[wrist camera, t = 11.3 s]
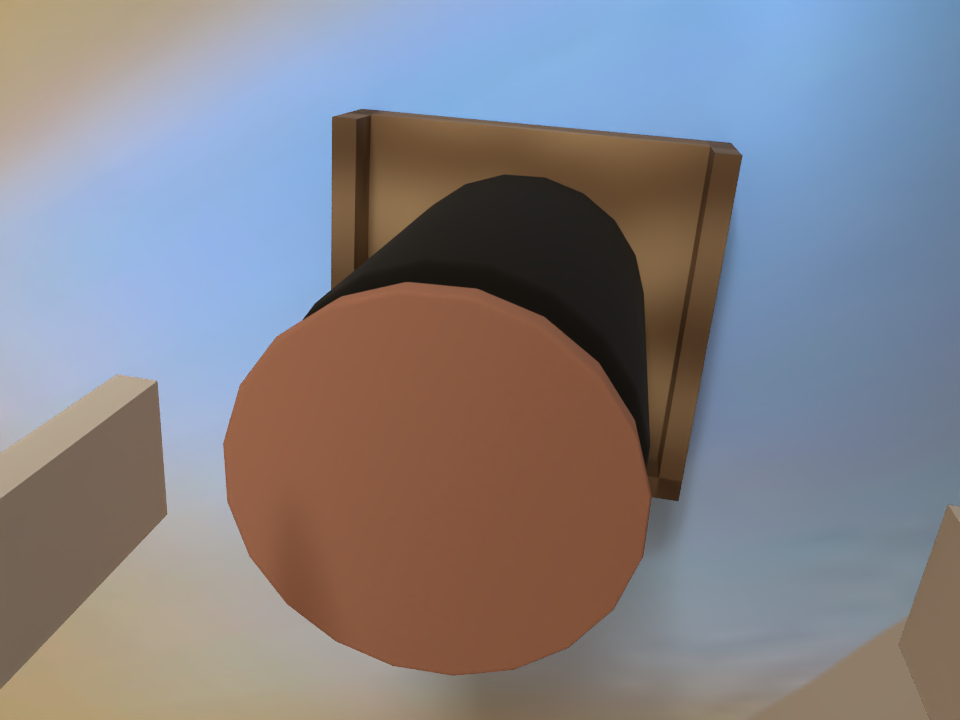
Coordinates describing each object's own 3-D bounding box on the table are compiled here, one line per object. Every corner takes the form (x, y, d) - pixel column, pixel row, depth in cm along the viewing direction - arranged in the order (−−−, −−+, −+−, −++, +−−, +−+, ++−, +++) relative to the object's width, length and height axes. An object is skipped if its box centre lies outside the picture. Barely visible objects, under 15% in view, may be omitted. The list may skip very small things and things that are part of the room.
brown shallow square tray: (362, 109, 37) (332, 116, 33) (730, 142, 35) (742, 155, 31) (356, 413, 43) (330, 449, 39) (674, 458, 41) (678, 501, 37)
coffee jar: (461, 432, 40) (339, 714, 23) (362, 226, 37) (142, 380, 20) (678, 359, 37) (716, 624, 20) (589, 127, 34) (546, 214, 17)
